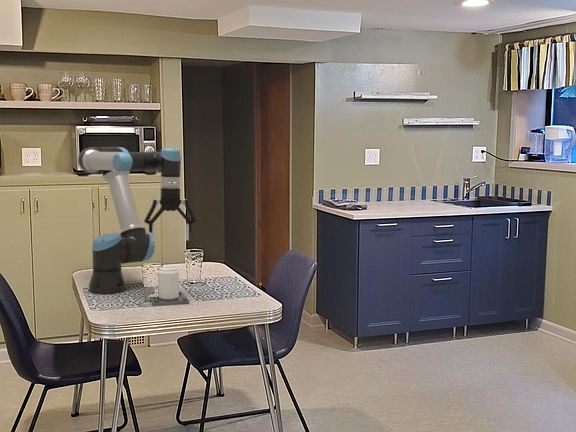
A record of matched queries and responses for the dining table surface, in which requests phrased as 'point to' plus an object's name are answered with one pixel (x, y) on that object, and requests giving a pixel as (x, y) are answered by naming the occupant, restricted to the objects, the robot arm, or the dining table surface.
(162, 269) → the beverage can
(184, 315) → the dining table surface
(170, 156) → the robot arm
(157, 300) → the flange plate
